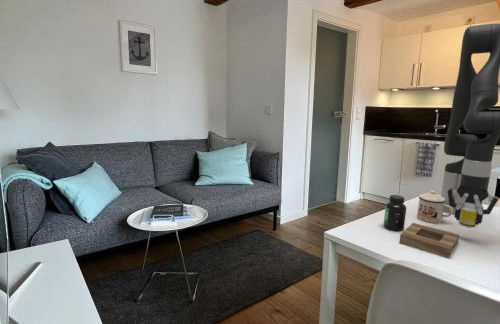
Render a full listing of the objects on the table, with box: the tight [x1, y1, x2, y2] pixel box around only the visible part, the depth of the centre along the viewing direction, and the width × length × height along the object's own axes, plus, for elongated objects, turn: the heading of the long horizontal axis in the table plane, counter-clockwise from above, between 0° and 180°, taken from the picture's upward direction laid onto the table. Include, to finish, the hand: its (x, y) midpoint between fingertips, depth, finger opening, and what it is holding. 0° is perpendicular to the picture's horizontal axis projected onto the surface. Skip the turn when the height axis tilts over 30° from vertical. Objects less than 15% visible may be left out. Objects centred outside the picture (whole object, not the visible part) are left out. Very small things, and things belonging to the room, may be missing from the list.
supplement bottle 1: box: [383, 194, 407, 232], centre depth 110 cm, size 7×7×12 cm
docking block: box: [399, 222, 460, 259], centre depth 99 cm, size 14×14×3 cm
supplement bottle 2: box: [458, 202, 478, 229], centre depth 101 cm, size 5×5×8 cm
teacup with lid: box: [416, 190, 453, 224], centre depth 118 cm, size 12×9×12 cm
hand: (467, 221), depth 102 cm, fingers closed on supplement bottle 2, 4 cm apart
